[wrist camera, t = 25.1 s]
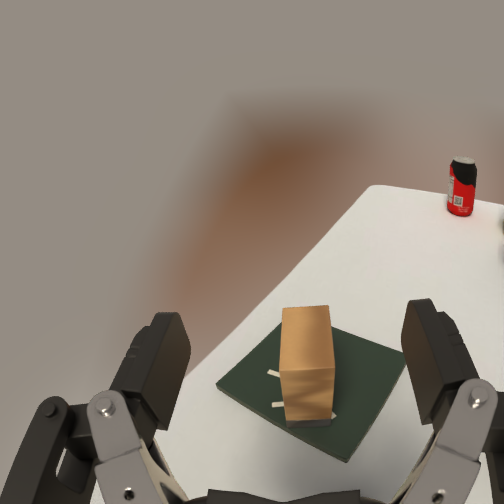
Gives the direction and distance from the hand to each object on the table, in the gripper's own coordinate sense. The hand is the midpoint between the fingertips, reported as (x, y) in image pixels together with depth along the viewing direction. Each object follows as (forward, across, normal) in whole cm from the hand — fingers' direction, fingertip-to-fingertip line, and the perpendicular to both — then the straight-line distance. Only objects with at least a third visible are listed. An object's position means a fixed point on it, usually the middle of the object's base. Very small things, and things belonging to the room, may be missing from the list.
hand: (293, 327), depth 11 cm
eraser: (+10, 0, +19) cm, 22 cm away
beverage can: (+52, -37, +20) cm, 67 cm away
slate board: (+13, -1, +20) cm, 24 cm away
